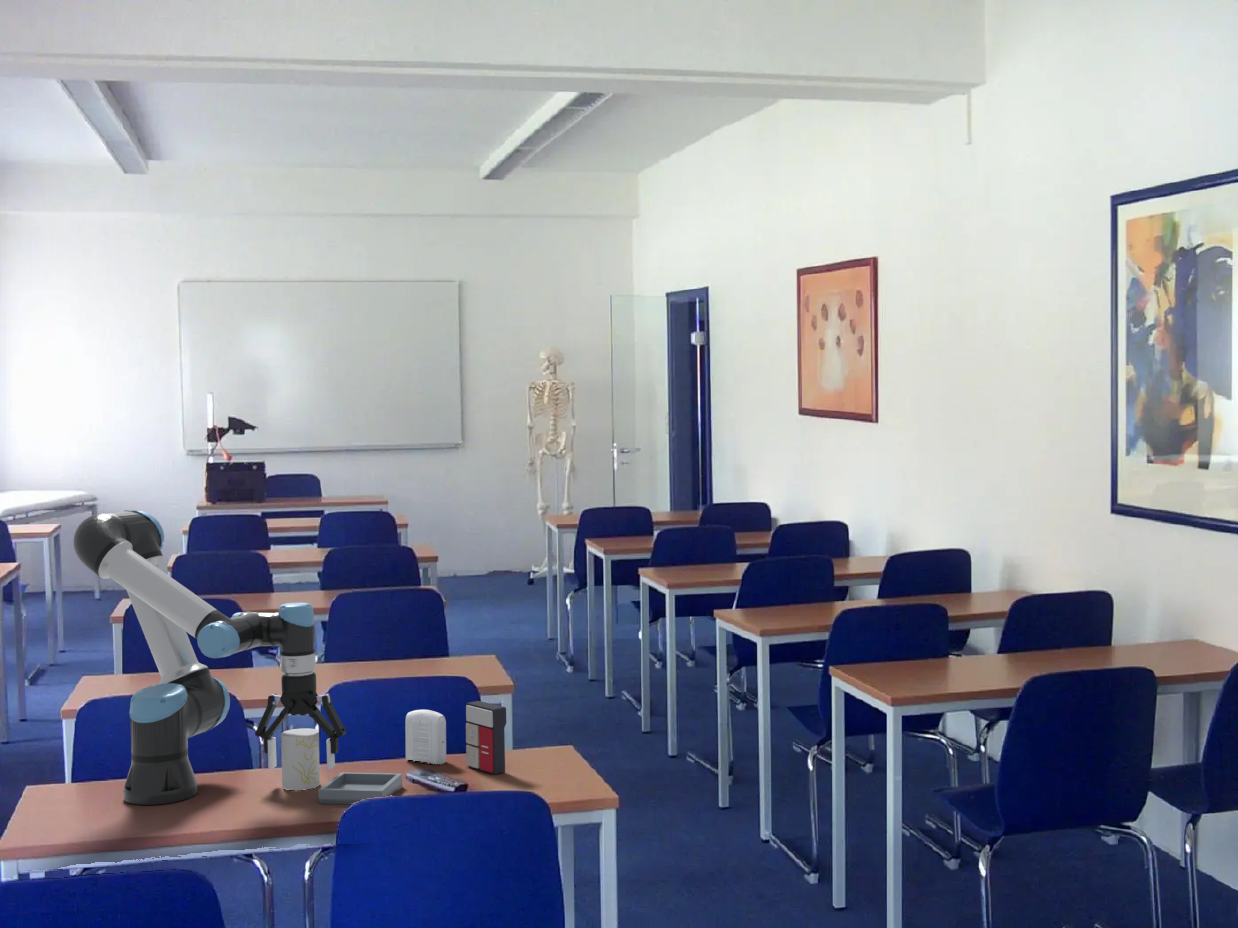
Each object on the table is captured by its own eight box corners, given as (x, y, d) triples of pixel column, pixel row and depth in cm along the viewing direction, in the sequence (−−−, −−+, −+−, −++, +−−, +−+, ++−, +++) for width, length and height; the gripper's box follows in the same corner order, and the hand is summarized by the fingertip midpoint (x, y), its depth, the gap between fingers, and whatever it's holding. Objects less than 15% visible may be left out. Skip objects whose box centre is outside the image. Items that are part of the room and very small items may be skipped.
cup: (298, 793, 284) (297, 738, 283) (274, 787, 288) (273, 733, 288) (327, 784, 290) (326, 731, 290) (303, 779, 295) (302, 726, 295)
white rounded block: (449, 761, 309) (448, 709, 308) (439, 765, 305) (438, 713, 305) (413, 757, 313) (412, 706, 313) (403, 761, 309) (401, 709, 309)
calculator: (464, 766, 304) (463, 703, 303) (479, 763, 306) (478, 700, 306) (492, 775, 295) (491, 709, 295) (507, 771, 298) (506, 707, 298)
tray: (318, 803, 275) (318, 789, 275) (341, 785, 289) (341, 772, 289) (382, 804, 273) (382, 790, 273) (402, 786, 287) (402, 773, 287)
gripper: (238, 676, 287) (241, 771, 287) (346, 675, 283) (349, 772, 284) (252, 669, 294) (255, 763, 294) (358, 669, 291) (361, 763, 291)
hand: (301, 767), depth 289 cm, fingers open, 13 cm apart
